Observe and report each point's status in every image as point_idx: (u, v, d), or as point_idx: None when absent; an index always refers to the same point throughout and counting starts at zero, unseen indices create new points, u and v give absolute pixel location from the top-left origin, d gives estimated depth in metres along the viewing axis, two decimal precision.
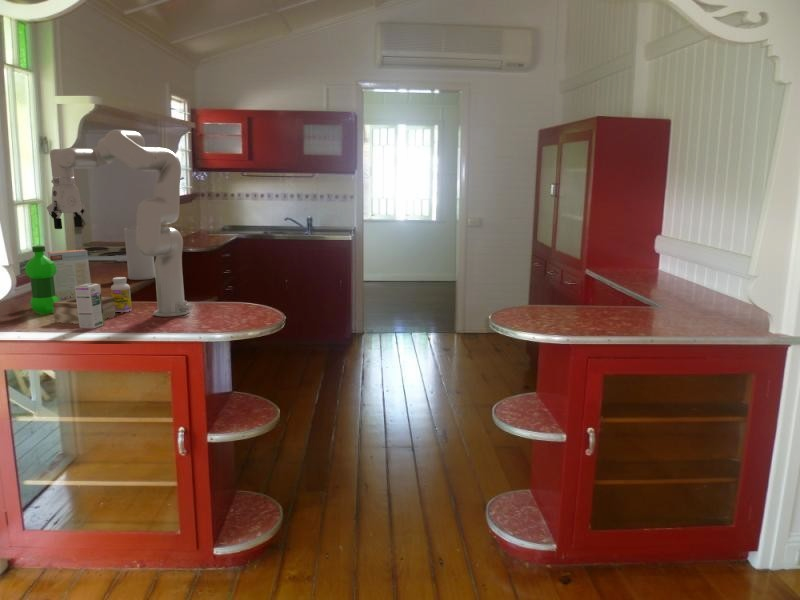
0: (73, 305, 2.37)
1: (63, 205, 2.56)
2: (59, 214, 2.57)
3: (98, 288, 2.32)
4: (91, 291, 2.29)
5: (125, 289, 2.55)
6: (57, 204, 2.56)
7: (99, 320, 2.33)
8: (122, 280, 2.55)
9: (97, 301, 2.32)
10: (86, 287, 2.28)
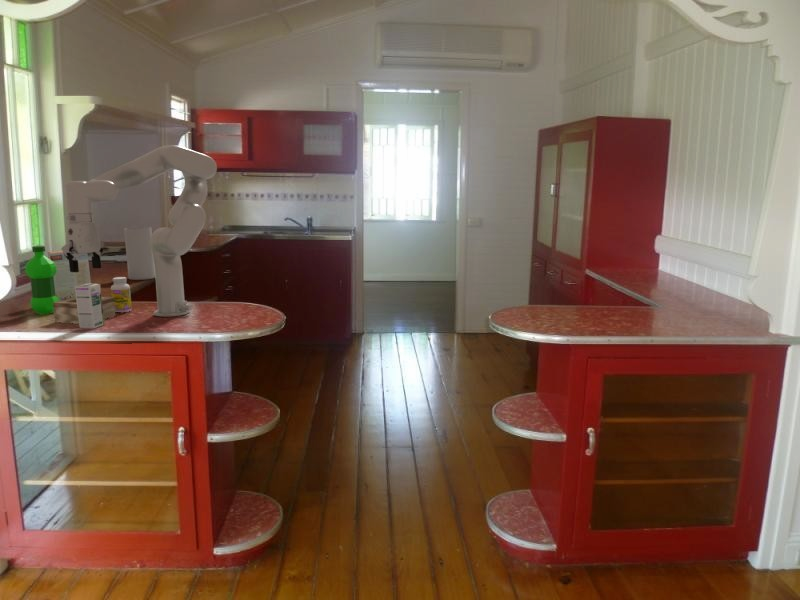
0: (73, 305, 2.37)
1: (80, 245, 2.24)
2: (75, 255, 2.24)
3: (98, 288, 2.32)
4: (91, 291, 2.29)
5: (125, 289, 2.55)
6: (73, 244, 2.24)
7: (99, 320, 2.33)
8: (122, 280, 2.55)
9: (97, 301, 2.32)
10: (86, 287, 2.28)
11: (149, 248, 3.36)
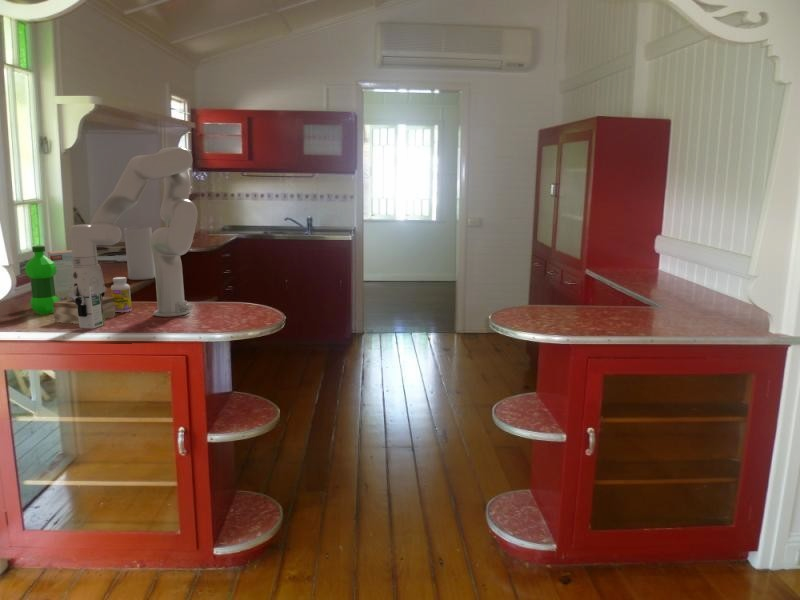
0: (73, 305, 2.37)
1: (85, 288, 2.27)
2: (83, 300, 2.28)
3: None
4: (91, 291, 2.29)
5: (125, 289, 2.55)
6: (78, 287, 2.26)
7: (99, 320, 2.33)
8: (122, 280, 2.55)
9: (97, 301, 2.32)
10: None
11: (149, 248, 3.36)
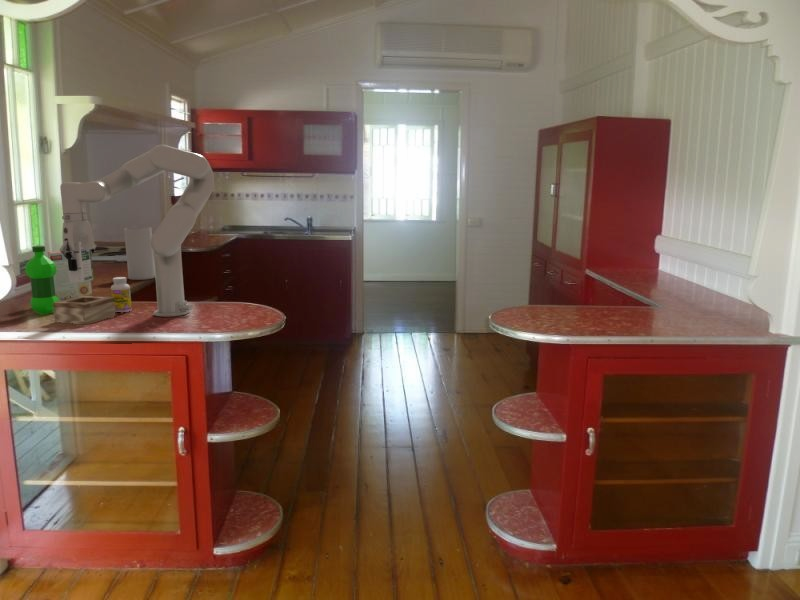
0: (73, 305, 2.37)
1: (75, 243, 2.36)
2: (73, 255, 2.38)
3: None
4: (80, 246, 2.38)
5: (125, 289, 2.55)
6: (68, 242, 2.36)
7: (89, 275, 2.43)
8: (122, 280, 2.55)
9: (87, 256, 2.41)
10: None
11: (149, 248, 3.36)
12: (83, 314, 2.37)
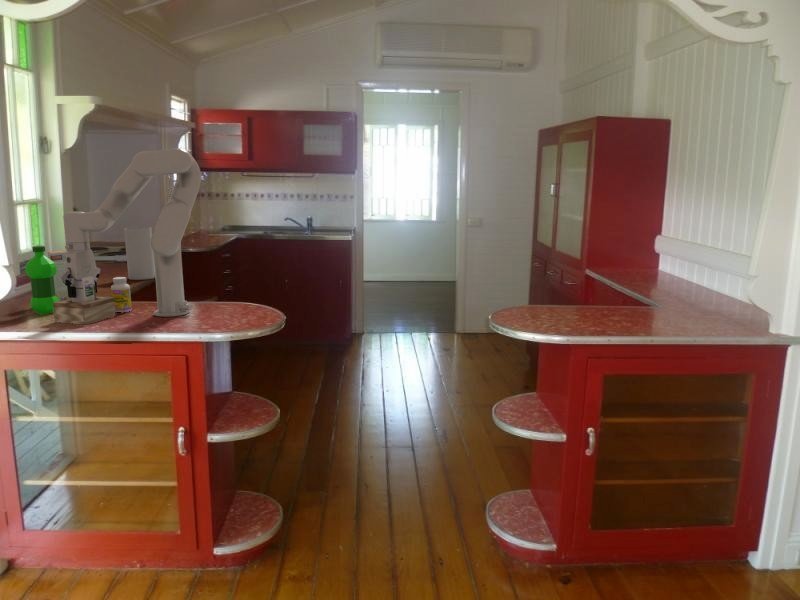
0: (73, 305, 2.37)
1: (78, 272, 2.38)
2: (73, 282, 2.38)
3: (92, 280, 2.44)
4: (84, 282, 2.40)
5: (125, 289, 2.55)
6: (71, 271, 2.37)
7: None
8: (122, 280, 2.55)
9: (90, 292, 2.43)
10: None
11: (149, 248, 3.36)
12: (83, 314, 2.37)
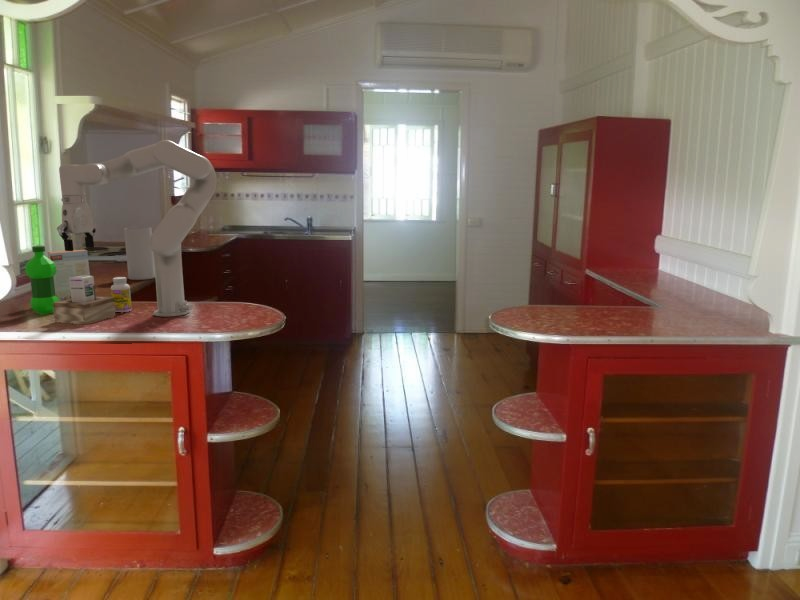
0: (73, 305, 2.37)
1: (74, 225, 2.37)
2: (70, 235, 2.37)
3: (91, 280, 2.44)
4: (84, 282, 2.41)
5: (125, 289, 2.55)
6: (68, 224, 2.36)
7: None
8: (122, 280, 2.55)
9: (90, 292, 2.44)
10: (80, 279, 2.40)
11: (149, 248, 3.36)
12: (83, 314, 2.37)
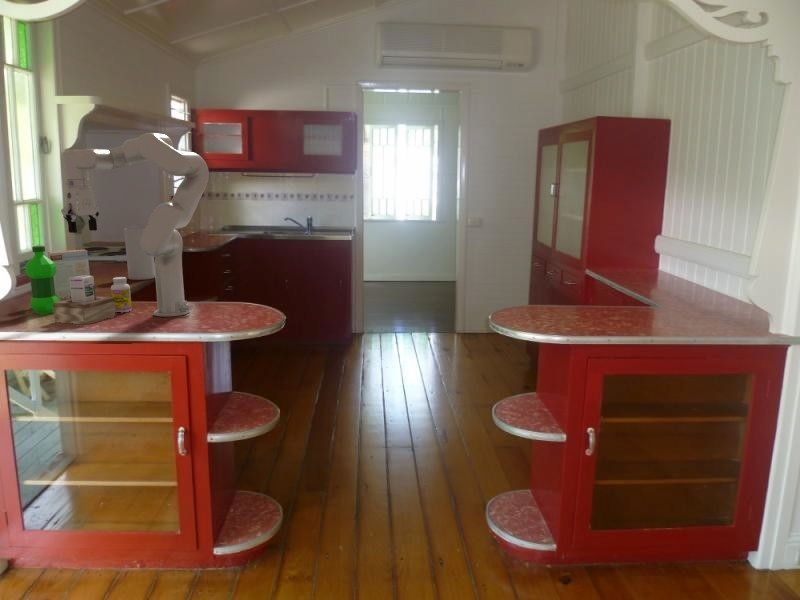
0: (73, 305, 2.37)
1: (78, 208, 2.47)
2: (74, 217, 2.47)
3: (91, 280, 2.44)
4: (84, 282, 2.41)
5: (125, 289, 2.55)
6: (72, 207, 2.46)
7: None
8: (122, 280, 2.55)
9: (90, 292, 2.44)
10: (80, 279, 2.40)
11: None
12: (83, 314, 2.37)
